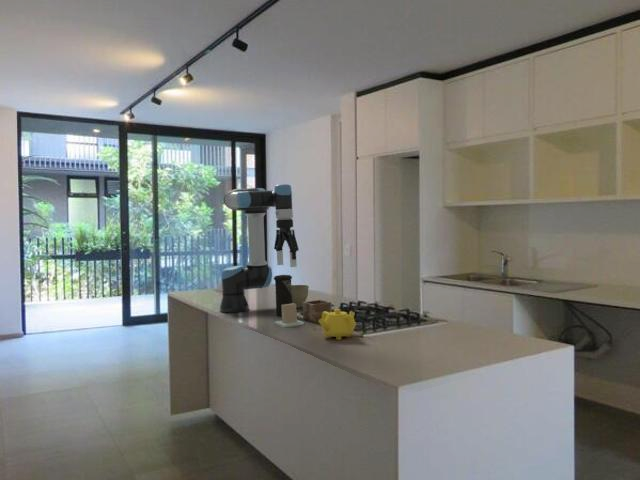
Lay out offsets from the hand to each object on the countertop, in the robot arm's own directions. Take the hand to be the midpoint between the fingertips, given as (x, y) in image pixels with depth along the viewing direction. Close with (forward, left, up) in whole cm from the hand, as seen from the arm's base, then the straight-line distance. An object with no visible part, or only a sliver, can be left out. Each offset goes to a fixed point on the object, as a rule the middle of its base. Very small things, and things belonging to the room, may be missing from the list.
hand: (286, 266), depth 240 cm
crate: (-1, +15, -26) cm, 30 cm away
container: (-22, +8, -27) cm, 36 cm away
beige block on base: (0, 0, -27) cm, 27 cm away
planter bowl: (-39, +22, -27) cm, 52 cm away
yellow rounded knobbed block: (+36, +4, -27) cm, 45 cm away
